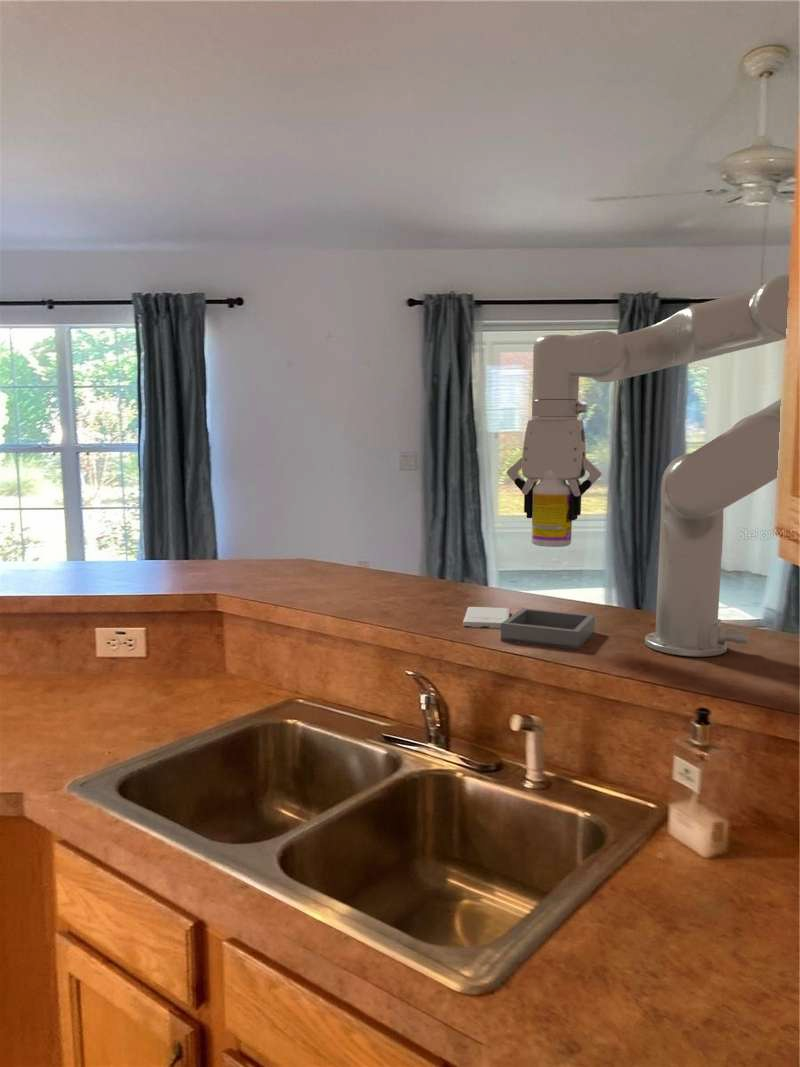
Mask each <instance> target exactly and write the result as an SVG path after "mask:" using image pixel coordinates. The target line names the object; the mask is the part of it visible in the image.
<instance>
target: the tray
mask: <svg viewBox="0 0 800 1067" xmlns="http://www.w3.org/2000/svg"><path fill="white" fill-rule="evenodd" d="M595 617H596V616H595V614H594V615H593V614H584V613H573V612H564V611H557V610H556V611H554V610H546V609H545V610H544V609H536V608H535V609H534V608H526V607H524V608H523V607H522V608H521V609H519V610H518V611H516V613H514V614H512V615H511V616H509V618H508V619H507V620H505V621H504V622H502V623H501V628H500V641H501V642H506V641H508V642H507V643H515V642H520V643H519V644H523V643H527V645H532V644H533V645H534V646H540V645H542V647H548V646H549V647H550V648H558V649H564V650H565V649H566V650H567V649H568V650H574V651H579V649H580V648H581V647H582V646H583V645H584V644H585V643H586V642H587V640H589V639H590V637H591V636H592V635H593V634H595ZM585 641H586V642H585ZM584 642H585V643H584Z"/></svg>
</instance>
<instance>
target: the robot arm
mask: <svg viewBox="0 0 800 1067" xmlns="http://www.w3.org/2000/svg"><path fill="white" fill-rule="evenodd" d="M788 291H789V274H787V273H785V274H781V275H777V276H774V277H772V278H771V279H769V280H768V281H766V282H765V283H764V284H762V285H761V286H760V287H757V288H754V289H750V290H746V291H741V292H738V293H735V294H731V295H728V296H724V297H721V298H717V299H716V298H715V299H713V300H709V301H704V302H702V303H697V304H693V305H690V306H687V307H686V308H682V309H681V310H679V311H676V313H674V314H672V315H671V316H669V317H668V318H666V319H664V320H662V321H660V322H657V323H655V324H652V325H650V326H649V325H648V326H646V327H642V328H639V329H637V330H633V331H629V332H625V333H621V334H617V333H614V332H612V331H610V330H599V331H593V332H587V333H582V334H581V333H580V334H574V335H568V334H550V335H549V334H548V335H547V334H546V335H542V336H540V337H537V338H536V339H535V342H534V343H533V349H532V350H533V354H532V355H533V356H532V357H533V359H532V360H533V361H532V393H531V394H532V396H531V397H532V402H531V419H528V421H527V424H526V428H525V432H524V438H523V440H524V441H523V446H522V447H523V448H522V454H521V455H522V456H521V458H519V459H518V460H517V461H516V462H515V463H514V464H513V465H512V466H511V467H510V468H509V469H508V470H507V471H506V475H508V477H509V478H510V479H511V480H512V482H514V484H515V486H516V487H517V488H518V489H519V490H520V491H521V493H522V495H523V497H524V499H523V501H524V502H523V513H524V514H526V518H527V519H532V506H533V488H534V486H535V485H537V484H538V482H539V481H540V479H544V478H545V476H544V475H545V473H546V471H548V470H552V471H553V472H554V473H555V475H556V477H554V478H557V479H558V480H566V482H567V484H568V485H569V486H570V488H571V490H572V496H571V497H570V507H569V519H570V520H572V521H575V520H578V516H581V514H582V513H581V512H582V496H583V495H584V493H585V492H587V491H588V490H589V489H590V488H591V487H592V486H593V485H594V484H595V483H596V482H597V481H598V479H600V478H601V476H602V472H601V471H600V469H598V468H597V467H596V466H595V465H594V464H593V463H592V462H591V461H590V460H589V459H587V452H586V445H587V444H586V435H585V434H586V433H585V427H584V421H583V419H578V418H579V416H580V414H582V413H587V411H588V405H587V404H585V403H584V404H582V403H580V401H579V392H580V391H579V389H580V388H579V386H580V382H579V381H580V378H590V379H592V380H594V381H596V382H599V383H612V382H616V381H621V380H625V379H629V378H632V377H637V376H642V375H646V374H649V373H652V372H657V371H660V370H663V369H667V368H668V369H669V368H673V367H677V366H682V365H683V366H684V365H687V364H693V363H695V362H698V361H702V360H707V359H710V358H715V357H719V356H722V355H724V354H730V353H734V352H737V351H742V350H746V349H751V348H756V347H760V346H764V345H767V344H772V343H775V342H779V341H784V340H786V328H787V308H788ZM780 406H781V398H779V399H778V400H776V401H775V402H773V403H771V404H769V405H768V406H766V407H764V408H763V409H760V410H759V411H757V412H756V413H754V414H750V415H747V416H745V417H744V418H742V419H741V420H739V421H737V422H736V423H735V424H734V425H733V426H732V427H731V428H730V429H728V430H727V431H725V432H722V434H720V435H719V436H717V437H715V438H714V439H712V440H711V441H709V442H707V443H706V444H704V445H702V446H701V447H699V448H697V449H696V450H694V451H693V452H691V453H685V454H682V455H680V456H677V457H676V458H674V459H673V460H672V461H671V462H670V463H669V464H668V466H667V467H666V468H665V470H664V472H663V475H662V477H661V478H662V479H661V483H660V484H661V486H660V527H659V530H660V531H659V545H658V547H659V548H658V550H659V551H658V566H657V567H658V569H657V570H658V572H657V592H656V593H657V594H656V609H655V610H656V611H655V631H654V632H650V633H648V634H646V635H645V638H644V639H645V640H644V644H645V645H646V646H647V647H648V648H650V649H652V650H654V651H656V652H657V651H658V652H660V653H666V654H668V655H676V656H683V657H697V658H698V657H703V658H704V657H714V656H719V655H722V654H724V653H726V652H727V650H728V643H727V642H732V643H735V644H741V645H742V644H744V645H747V644H748V637H749V636H748V635H749V632H748V631H742V630H740V629H738V628H726V627H725V626H724V625H723V626H722V625H721V624H722V623H721V622H722V620H721V619H719V608H720V603H719V602H720V593H721V592H720V588H721V573H722V556H723V543H724V542H723V538H724V509H726V508H728V507H729V506H731V505H733V504H735V503H736V502H739V501H740V500H742V499H743V498H745V497H747V496H749V495H751V494H752V493H754V492H756V491H757V490H759V489H761V488H762V487H764V486H767V485H768V484H769V483H771V482H773V481H774V480H776V479H778V478H777V470H778V450H779V432H780ZM520 471H521V472H522V476H523V477H524V478H527V479H526V481H525V480H524V478H522V477H521V475H520V474H519V472H520ZM587 472H588V473H589V476H588V477H587V478H586V479H585V480H584V481H583V482H582V483H581V481H580V480H579V479H582V478H583V477H585V476H586V473H587Z"/></svg>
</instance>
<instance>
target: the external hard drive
mask: <svg viewBox="0 0 800 1067" xmlns="http://www.w3.org/2000/svg"><path fill="white" fill-rule="evenodd" d="M510 612H511V610H510V608H508V607H488V606H486V607H485V606H469V607H467V609H466V612H465V616H464V617H463V621H462V627H463V626H472V627H471V628H480V627H482V628H486V627H489V628H488V629H501V623H502V622H504V621H505V620H507V619H508V618H510Z"/></svg>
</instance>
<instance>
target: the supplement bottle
mask: <svg viewBox="0 0 800 1067" xmlns="http://www.w3.org/2000/svg"><path fill="white" fill-rule="evenodd" d="M544 476H545V478H544V479H539V483H537V484H536V485H535V486H534V488H533V506H532V518H531V543H532V544H533V545H535V546H538V547H544V548H545V547H546V548H548V547H549V548H563V547H568V546H570V545H571V543H572V531H573V530H572V527H573V526H572V524H573V520H570V519H569V507H570V497H571V496H572V490H571V488H570V485H569V483H567V480H558V479H557V478H554V477H556V475H555V473H554V472H553V471H552V470H548V471H546V473H545V475H544Z"/></svg>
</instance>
